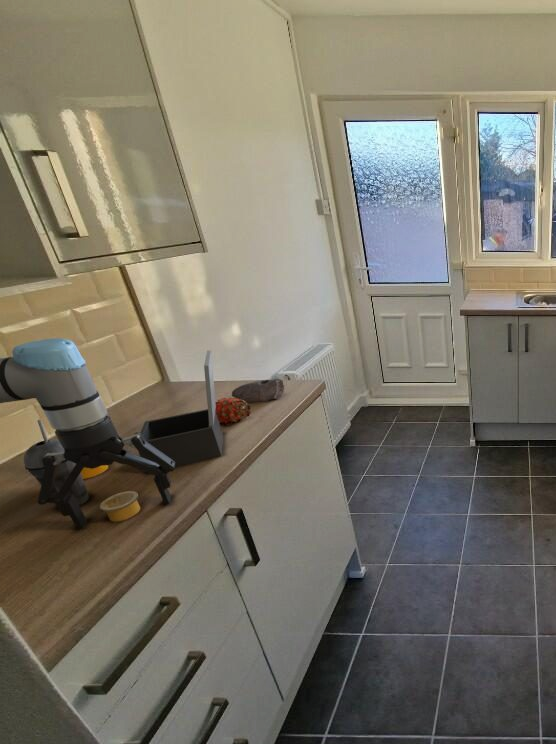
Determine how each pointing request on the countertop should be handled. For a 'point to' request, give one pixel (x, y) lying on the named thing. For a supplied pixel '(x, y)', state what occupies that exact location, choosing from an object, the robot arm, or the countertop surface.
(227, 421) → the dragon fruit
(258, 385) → the perforated stone tool
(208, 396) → the pod lid
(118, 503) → the coffee pod
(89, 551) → the countertop surface
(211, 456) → the dark grey storage bin
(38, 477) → the beverage cup
